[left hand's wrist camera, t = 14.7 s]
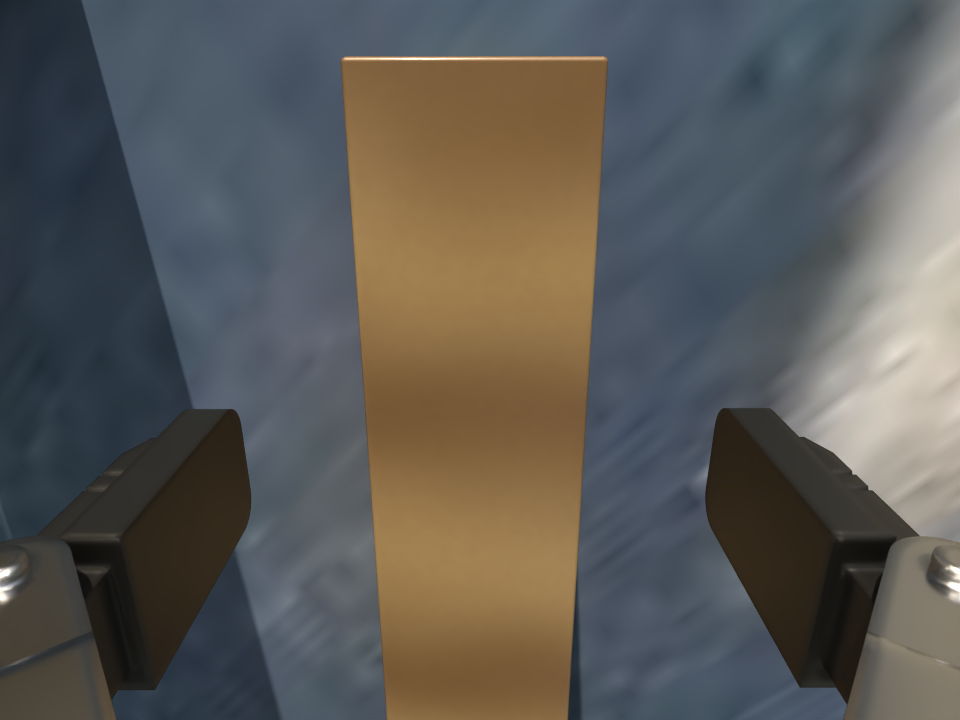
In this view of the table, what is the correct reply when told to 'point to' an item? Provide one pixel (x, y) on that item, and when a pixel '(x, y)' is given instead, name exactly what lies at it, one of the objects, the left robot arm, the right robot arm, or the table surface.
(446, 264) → the beam
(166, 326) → the table surface
